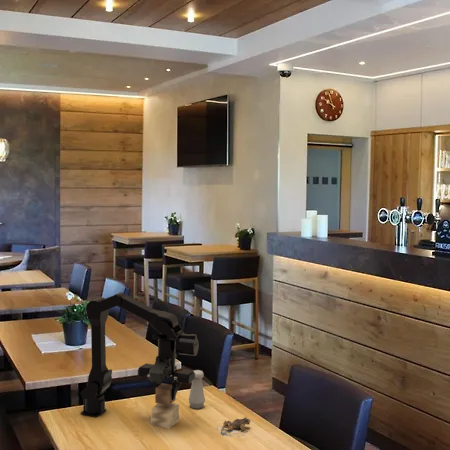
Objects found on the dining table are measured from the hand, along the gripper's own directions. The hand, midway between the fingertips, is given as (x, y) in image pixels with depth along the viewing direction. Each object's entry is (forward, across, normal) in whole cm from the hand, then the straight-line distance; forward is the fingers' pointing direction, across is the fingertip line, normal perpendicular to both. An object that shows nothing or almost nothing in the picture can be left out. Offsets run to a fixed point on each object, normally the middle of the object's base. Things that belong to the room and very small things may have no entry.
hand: (165, 398), depth 203 cm
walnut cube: (+1, 0, 0) cm, 1 cm away
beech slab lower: (+9, 0, 0) cm, 9 cm away
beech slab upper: (+6, 0, 0) cm, 6 cm away
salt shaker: (+8, +4, +17) cm, 19 cm away
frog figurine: (+9, +23, +5) cm, 25 cm away
